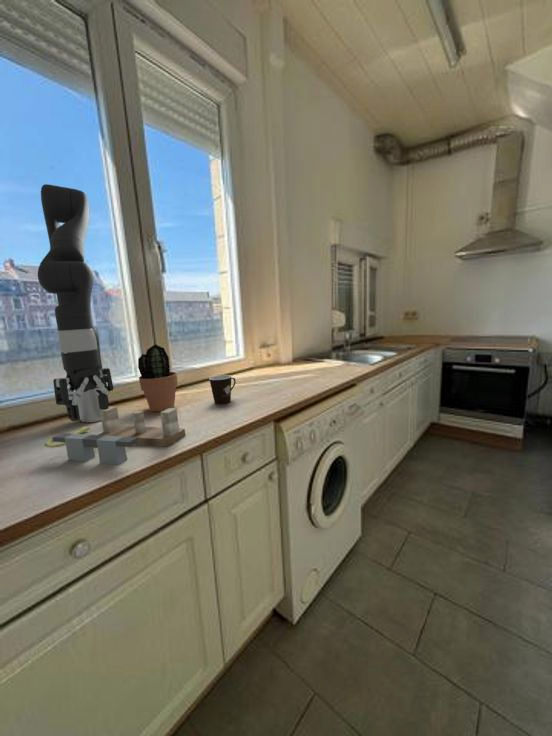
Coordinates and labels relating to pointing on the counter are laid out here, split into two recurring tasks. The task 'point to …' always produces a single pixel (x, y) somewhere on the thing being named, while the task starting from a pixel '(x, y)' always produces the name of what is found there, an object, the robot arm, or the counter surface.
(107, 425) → the display stand
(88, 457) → the square weight dumbbell
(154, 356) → the potted plant
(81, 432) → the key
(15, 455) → the counter surface
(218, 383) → the coffee mug
